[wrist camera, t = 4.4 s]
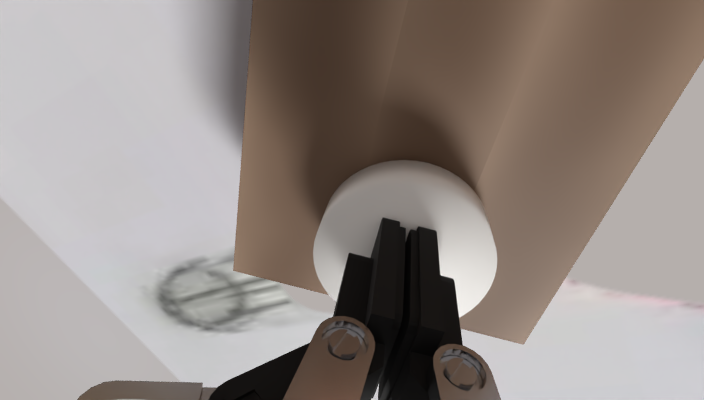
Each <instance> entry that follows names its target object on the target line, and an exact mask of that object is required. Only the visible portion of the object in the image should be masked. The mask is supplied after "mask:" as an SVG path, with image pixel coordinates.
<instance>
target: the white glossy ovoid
mask: <svg viewBox="0 0 704 400" xmlns="http://www.w3.org/2000/svg"><path fill="white" fill-rule="evenodd" d="M383 217H384V218H388V219H392V220H396V221H400V227H404V228H406V240H407V237H408V234H409V231H410V230H411V229H412V230H417V228H418V226H420V227H424V228H428V229H432V230H436V231H437V239H438V252H439V264H440V275H441V276H445V277H449V278H453V280H454V282H455V289H456V297H457V305H458V313H459V318H460V317H461V316H463V315H465V314H466V313H468V312H469V311H471V310H472V309H473V308H474V307H475V306H476V305H477V304H479V303H480V301H481V300H482V299H483V298H484V297H485V295H486V294H487V292H488V291H489V289H490V287H491V285H492V283H493V280H494V278H495V273H496V269H497V252H496V246H495V243H494V239H493V236H492V232H491V228H490V225H489V221H488V218H487V214H486V211H485V208H484V206H483V204H482V202H481V200H480V199H479V197H478V196H477V194H476V193H475V192H474V190H473V189H472V188H471V187H470V186H469V185H468V184H467V183H466V182H464V181H463V180H462V179H461V178H460V177H458V176H456V175H455V174H453V173H452V172H450V171H448V170H446V169H443V168H441V167H439V166H436V165H433V164H430V163H425V162H420V161H412V160H396V161H388V162H382V163H378V164H375V165H372V166H369V167H367V168H364V169H362V170H360V171H358V172H357V173H355V174H354V175H352V176H350V177H349V178H348V179H347V180H346V181H344V182H343V183H342V184H341V185H340V186H339V187H338V189H337V190H336V191H335V192H334V194H333V195H332V197H331V199H330V201H329V203H328V205H327V207H326V210H325V213H324V215H323V218H322V221H321V223H320V226H319V229H318V231H317V234H316V238H315V241H314V248H313V259H314V265H315V270H316V273H317V276H318V278H319V280H320V282H321V284H322V286H323V288H324V289H325V290H326V292H327V293H328V294H329V295H330V297H331V298H332V299H333V300H334V301H335V302H337V298H338V294H339V289H340V285H341V281H342V277H343V273H344V269H345V265H346V262H347V258H348V254H349V253H353V254H357V255H361V256H365V257H369V258H371V254H372V251H373V247H374V244H375V240H376V237H377V234H378V230H379V227H380V223H381V220H382V218H383ZM406 240H405V243H406Z"/></svg>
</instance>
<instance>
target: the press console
mask: <svg viewBox="0 0 704 400" xmlns="http://www.w3.org/2000/svg"><path fill="white" fill-rule="evenodd" d="M703 59H704V0H253V6H252V19H251V33H250V47H249V61H248V75H247V89H246V102H245V116H244V130H243V144H242V158H241V171H240V185H239V199H238V213H237V227H236V240H235V254H234V268H233V271H237V272H241V273H245V274H249V275H253V276H256V277H260V278H264V279H268V280H272V281H276V282H280V283H284V284H288V285H292V286H296V287H300V288H304V289H307V290H311V291H315V292H319V293H323V294H327V295H329V294H328V293H327V292H326V290H325V289H324V288H323V286H322V284H321V282H320V280H319V278H318V276H317V273H316V270H315V265H314V259H313V248H314V241H315V238H316V234H317V231H318V229H319V226H320V223H321V221H322V218H323V215H324V213H325V210H326V207H327V205H328V203H329V201H330V199H331V197H332V195H333V194H334V192H335V191H336V190H337V189H338V187H339V186H340V185H341V184H342V183H343V182H344V181H346V180H347V179H348V178H349V177H350V176H352V175H354V174H355V173H357V172H358V171H360V170H362V169H364V168H367V167H369V166H372V165H375V164H378V163H382V162H388V161H396V160H412V161H420V162H425V163H430V164H433V165H436V166H439V167H441V168H443V169H446V170H448V171H450V172H452V173H453V174H455V175H456V176H458V177H460V178H461V179H462V180H463V181H464V182H466V183H467V184H468V185H469V186H470V187H471V188H472V189H473V190H474V192H475V193H476V194H477V196H478V197H479V199H480V200H481V202H482V204H483V206H484V208H485V211H486V214H487V218H488V221H489V225H490V228H491V232H492V236H493V239H494V243H495V246H496V252H497V269H496V273H495V278H494V280H493V283H492V285H491V287H490V289H489V291H488V292H487V294H486V295H485V297H484V298H483V299H482V300H481V301H480V303H479V304H477V305H476V306H475V307H474V308H473V309H472V310H471V311H469V312H468V313H466V314H465V315H463V316H461V317H460V318H459V321H460V329H464V330H468V331H472V332H476V333H480V334H484V335H488V336H492V337H496V338H500V339H504V340H508V341H511V342H515V343H519V344H524V343H525V341H526V340H527V338H528V337H529V335H530V333H531V332H532V330H533V329H534V327H535V325H536V324H537V322H538V321H539V319H540V318H541V316H542V314H543V313H544V311H545V310H546V308H547V306H548V305H549V303H550V302H551V300H552V298H553V297H554V295H555V294H556V292H557V291H558V289H559V287H560V286H561V284H562V283H563V281H564V279H565V278H566V276H567V275H568V273H569V272H570V270H571V268H572V267H573V265H574V264H575V262H576V260H577V259H578V257H579V256H580V254H581V252H582V251H583V249H584V248H585V246H586V244H587V243H588V241H589V240H590V238H591V237H592V235H593V233H594V232H595V230H596V229H597V227H598V226H599V224H600V222H601V221H602V219H603V218H604V216H605V214H606V213H607V211H608V210H609V208H610V206H611V205H612V203H613V202H614V200H615V199H616V197H617V195H618V194H619V192H620V191H621V189H622V187H623V186H624V184H625V183H626V181H627V180H628V178H629V176H630V175H631V173H632V171H633V170H634V168H635V167H636V165H637V164H638V162H639V160H640V159H641V157H642V156H643V154H644V153H645V151H646V149H647V148H648V146H649V145H650V143H651V142H652V140H653V138H654V137H655V135H656V134H657V132H658V130H659V129H660V127H661V126H662V124H663V122H664V121H665V119H666V118H667V116H668V115H669V113H670V111H671V109H672V108H673V107H674V105H675V103H676V102H677V100H678V99H679V97H680V96H681V94H682V92H683V91H684V89H685V88H686V86H687V84H688V83H689V81H690V80H691V78H692V76H693V75H694V73H695V72H696V70H697V68H698V67H699V65H700V64H701V62H702V61H703Z"/></svg>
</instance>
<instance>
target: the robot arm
mask: <svg viewBox="0 0 704 400" xmlns="http://www.w3.org/2000/svg"><path fill="white" fill-rule="evenodd" d="M405 240H406V228H404V227H400V221H396V220H392V219H388V218H384V217H383V218H382V220H381V223H380V227H379V230H378V234H377V237H376V240H375V244H374V247H373V251H372V254H371V258H369V257H365V256H361V255H357V254H353V253H349V254H348V258H347V262H346V265H345V269H344V273H343V277H342V281H341V285H340V289H339V294H338V298H337V302H336V307H335V311H334V315H333V317H332V318H328V319H327V320H325V321H323V322H322V323H321V324H320V325H319V327H318V328H317V330H316V332H315V334H314V336H313V338H312V340H311V342H310V343H308V344H306V345H304V346H302V347H300V348H297V349H295V350H293V351H291V352H289V353H287V354H284V355H282V356H280V357H278V358H276V359H274V360H271V361H269V362H267V363H265V364H263V365H261V366H258V367H256V368H254V369H252V370H250V371H247V372H245V373H243V374H241V375H239V376H237V377H234V378H232V379H230V380H228V381H226V382H225V383H223V384H222V385H220V386H218V387H217V388H207V387H203V383H192V382H149V381H109V382H103V383H101V384H98V385H96V386H94V387H91V388H90V389H89V390H87V391H86V392H85V393H83V394H82V395H81V396H80V397H79V398H78V399H77V400H371V398H373V397H374V394H375V392H376V389H377V387H378V384H379V392H378V400H501V398H500V395H499V392H498V389H497V386H496V384H495V381H494V378H493V375H492V372H491V370H490V368H489V366H488V364H487V363H486V362H485V361H484V360H483V358H482V357H481V356H480V355H478V354H477V353H476V352H474V351H473V350H471V349H469V348H467V347H465V346H463V345H462V337H461V329H460V321H459V313H458V305H457V297H456V289H455V282H454V280H453V278H449V277H445V276H441V275H440V264H439V252H438V239H437V231H436V230H432V229H428V228H424V227H420V226H418V228H417V230H412V229H411V230H410V231H409V234H408V237H407V240H406V243H405Z"/></svg>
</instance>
